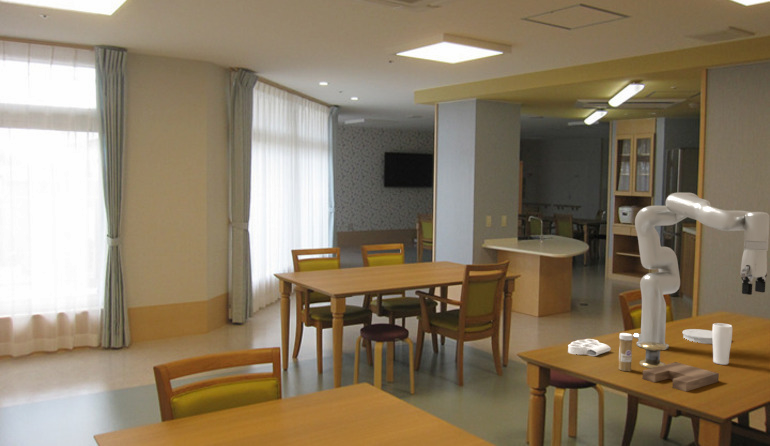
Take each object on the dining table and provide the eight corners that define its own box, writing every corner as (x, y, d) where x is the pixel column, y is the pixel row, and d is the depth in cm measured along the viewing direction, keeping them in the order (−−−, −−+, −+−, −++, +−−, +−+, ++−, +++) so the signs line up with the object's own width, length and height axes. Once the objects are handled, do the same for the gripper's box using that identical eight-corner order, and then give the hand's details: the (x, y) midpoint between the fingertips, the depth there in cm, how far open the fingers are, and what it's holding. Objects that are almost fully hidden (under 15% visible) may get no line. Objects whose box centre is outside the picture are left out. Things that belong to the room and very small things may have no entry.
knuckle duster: (592, 359, 243) (559, 351, 253) (614, 351, 255) (582, 344, 266) (592, 351, 242) (559, 343, 253) (614, 343, 255) (582, 337, 265)
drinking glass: (733, 366, 234) (735, 327, 233) (714, 365, 235) (715, 326, 234) (727, 361, 241) (728, 323, 240) (708, 360, 242) (710, 322, 241)
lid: (739, 345, 267) (739, 338, 267) (693, 344, 268) (693, 337, 267) (718, 335, 284) (719, 329, 284) (675, 335, 285) (675, 328, 285)
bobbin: (634, 364, 235) (635, 343, 235) (648, 360, 240) (649, 340, 239) (656, 370, 227) (657, 349, 227) (670, 366, 232) (671, 345, 232)
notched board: (642, 378, 217) (642, 370, 217) (675, 370, 228) (675, 362, 228) (685, 391, 204) (686, 382, 204) (718, 381, 215) (718, 373, 215)
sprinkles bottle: (624, 372, 225) (626, 335, 224) (615, 368, 229) (616, 333, 228) (634, 370, 227) (635, 334, 226) (624, 367, 231) (626, 332, 230)
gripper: (756, 244, 230) (754, 289, 231) (733, 246, 220) (730, 293, 221) (778, 245, 224) (775, 292, 225) (755, 248, 214) (752, 296, 215)
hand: (753, 293), depth 223 cm, fingers open, 9 cm apart
